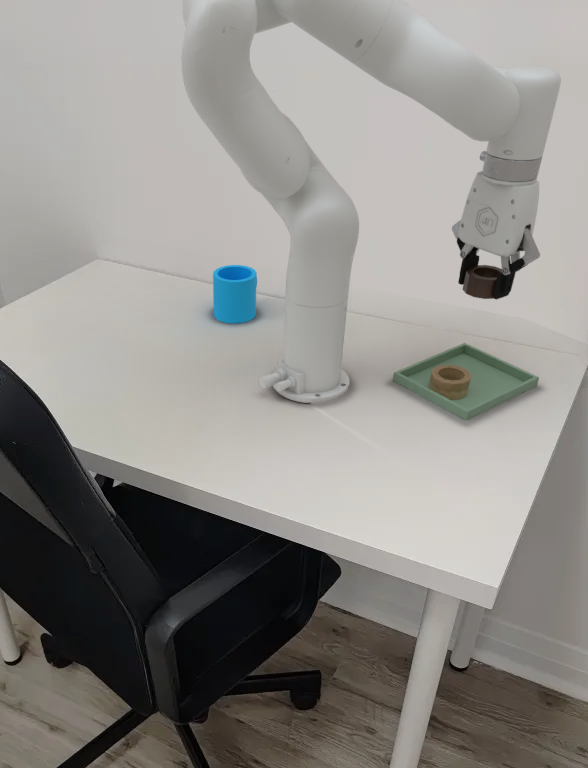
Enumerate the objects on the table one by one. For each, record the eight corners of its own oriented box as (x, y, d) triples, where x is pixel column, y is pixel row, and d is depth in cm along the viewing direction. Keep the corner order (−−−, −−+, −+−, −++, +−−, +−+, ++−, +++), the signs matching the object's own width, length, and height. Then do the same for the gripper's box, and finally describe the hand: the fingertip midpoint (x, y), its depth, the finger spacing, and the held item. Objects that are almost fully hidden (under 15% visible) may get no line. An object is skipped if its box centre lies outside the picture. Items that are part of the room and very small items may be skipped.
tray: (465, 423, 117) (467, 411, 116) (392, 383, 127) (393, 372, 126) (536, 388, 125) (539, 377, 123) (462, 353, 134) (464, 342, 133)
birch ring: (449, 403, 120) (453, 387, 119) (421, 388, 124) (423, 372, 122) (475, 392, 123) (479, 375, 121) (446, 377, 127) (449, 361, 125)
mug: (242, 327, 144) (242, 285, 139) (205, 317, 148) (204, 276, 143) (273, 303, 152) (274, 263, 147) (237, 295, 156) (237, 255, 151)
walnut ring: (485, 302, 117) (489, 283, 115) (454, 289, 121) (458, 270, 119) (511, 293, 120) (515, 274, 118) (480, 280, 123) (484, 262, 121)
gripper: (446, 158, 113) (424, 277, 124) (545, 187, 101) (512, 315, 113) (480, 150, 116) (456, 267, 127) (580, 177, 105) (545, 302, 116)
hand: (483, 288), depth 120 cm, fingers closed on walnut ring, 6 cm apart
